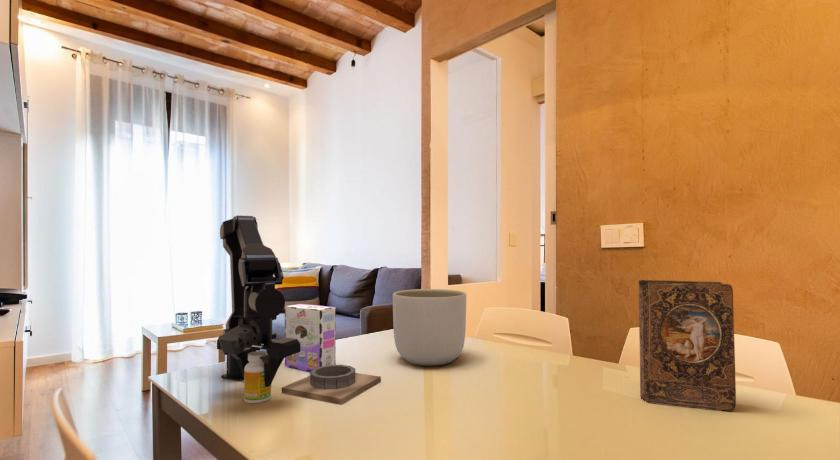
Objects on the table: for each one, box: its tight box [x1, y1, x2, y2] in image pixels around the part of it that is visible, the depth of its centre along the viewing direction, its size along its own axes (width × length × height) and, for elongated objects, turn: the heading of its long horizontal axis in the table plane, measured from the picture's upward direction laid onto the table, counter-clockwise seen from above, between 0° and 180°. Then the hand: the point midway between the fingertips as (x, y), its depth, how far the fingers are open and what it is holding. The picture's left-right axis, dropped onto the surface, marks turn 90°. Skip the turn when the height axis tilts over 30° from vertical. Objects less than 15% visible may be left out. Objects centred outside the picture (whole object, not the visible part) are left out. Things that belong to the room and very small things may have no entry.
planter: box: [392, 288, 467, 367], centre depth 122 cm, size 21×21×19 cm
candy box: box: [284, 303, 337, 373], centre depth 115 cm, size 14×6×16 cm, turn 58°
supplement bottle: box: [243, 350, 272, 404], centre depth 92 cm, size 5×5×10 cm
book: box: [638, 279, 737, 412], centre depth 90 cm, size 16×6×25 cm, turn 71°
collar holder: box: [281, 364, 382, 405], centre depth 99 cm, size 16×16×4 cm
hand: (257, 384), depth 92 cm, fingers closed on supplement bottle, 5 cm apart
